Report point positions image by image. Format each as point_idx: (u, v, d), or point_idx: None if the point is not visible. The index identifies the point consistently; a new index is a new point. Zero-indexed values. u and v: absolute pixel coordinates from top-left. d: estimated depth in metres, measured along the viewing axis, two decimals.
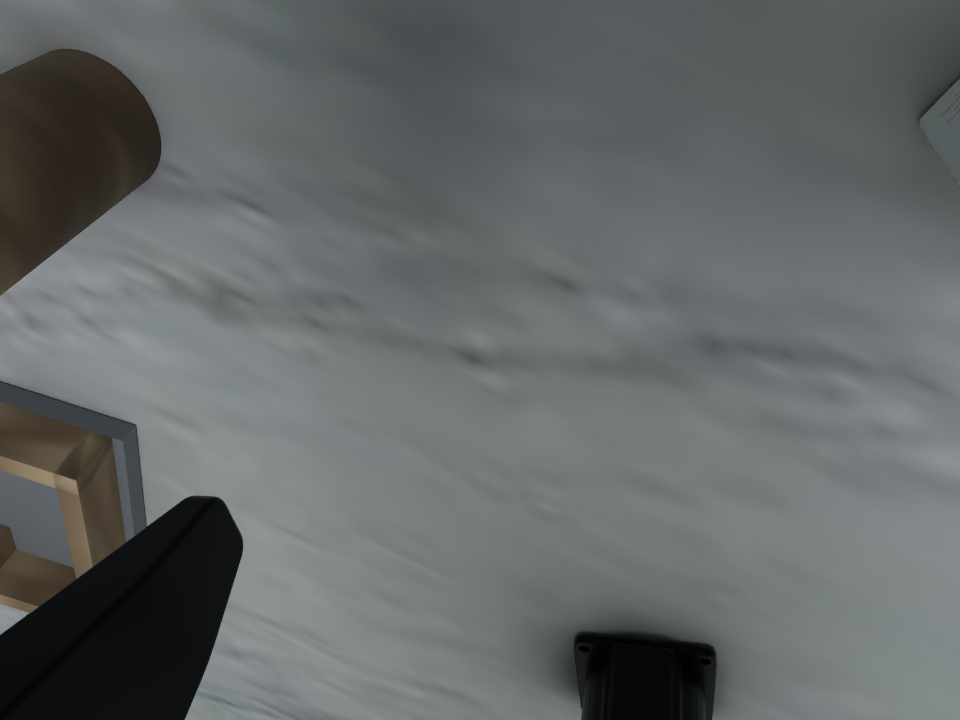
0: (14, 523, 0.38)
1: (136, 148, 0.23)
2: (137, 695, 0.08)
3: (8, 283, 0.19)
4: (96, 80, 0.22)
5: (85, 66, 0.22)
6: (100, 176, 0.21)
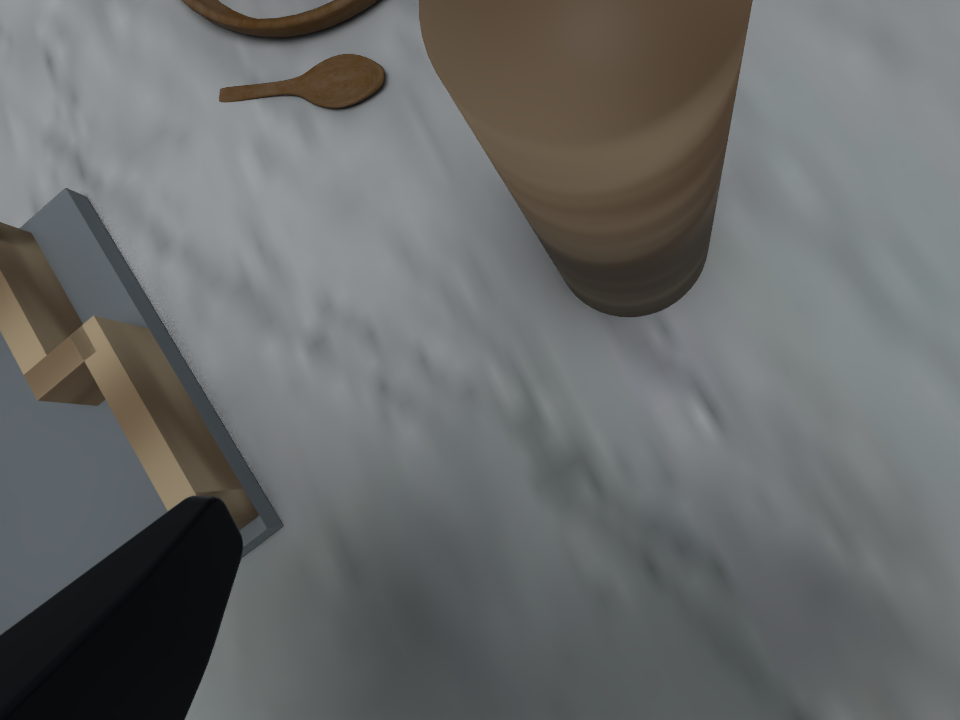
0: None
1: (688, 281, 0.21)
2: (137, 695, 0.08)
3: (637, 253, 0.15)
4: None
5: None
6: (688, 267, 0.19)
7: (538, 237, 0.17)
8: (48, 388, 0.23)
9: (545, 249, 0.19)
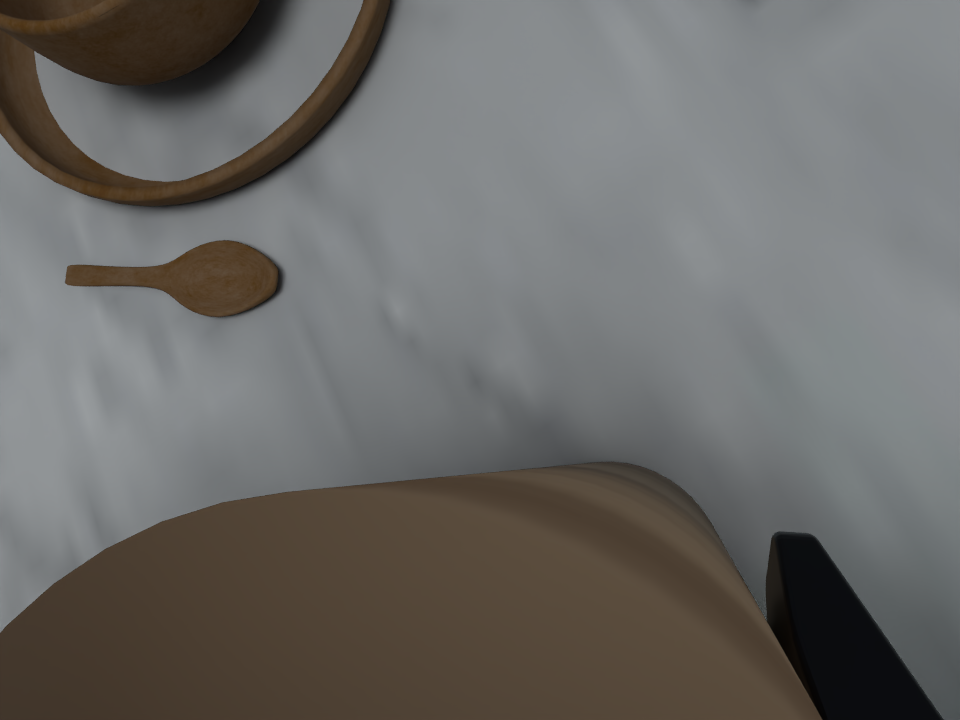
0: None
1: None
2: None
3: None
4: None
5: None
6: None
7: None
8: None
9: None
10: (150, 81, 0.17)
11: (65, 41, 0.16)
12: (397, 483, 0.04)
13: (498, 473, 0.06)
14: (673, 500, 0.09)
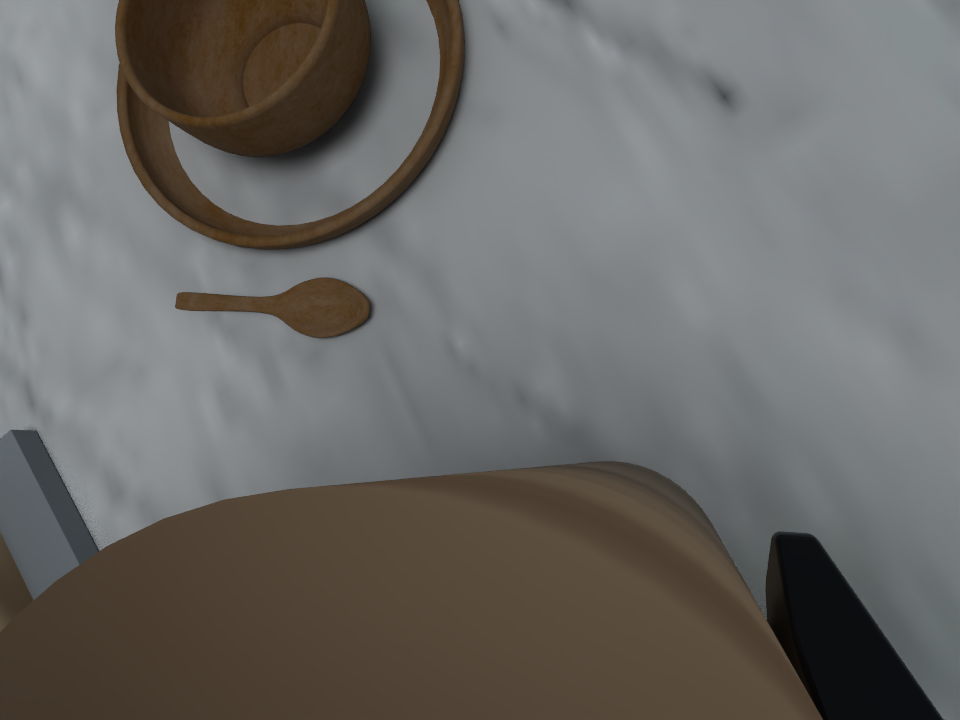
0: None
1: None
2: None
3: None
4: None
5: None
6: None
7: None
8: None
9: None
10: (272, 154, 0.22)
11: (219, 131, 0.21)
12: (397, 480, 0.04)
13: (498, 471, 0.06)
14: (673, 499, 0.09)
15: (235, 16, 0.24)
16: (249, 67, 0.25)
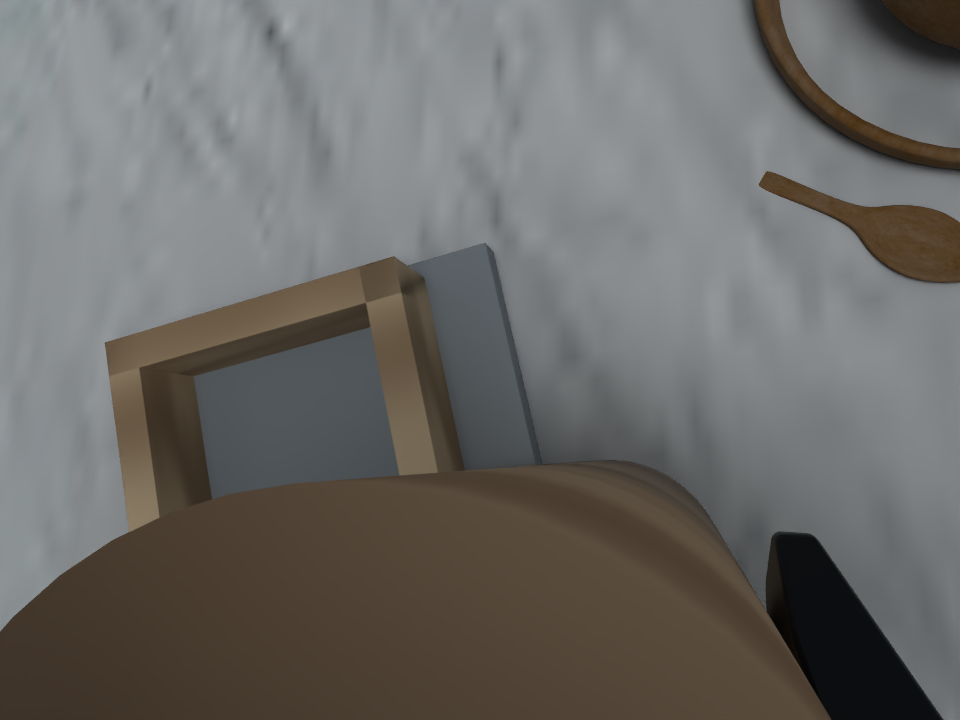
0: None
1: None
2: None
3: None
4: None
5: None
6: None
7: None
8: None
9: None
10: None
11: None
12: (402, 476, 0.04)
13: (502, 468, 0.06)
14: (675, 497, 0.09)
15: None
16: None
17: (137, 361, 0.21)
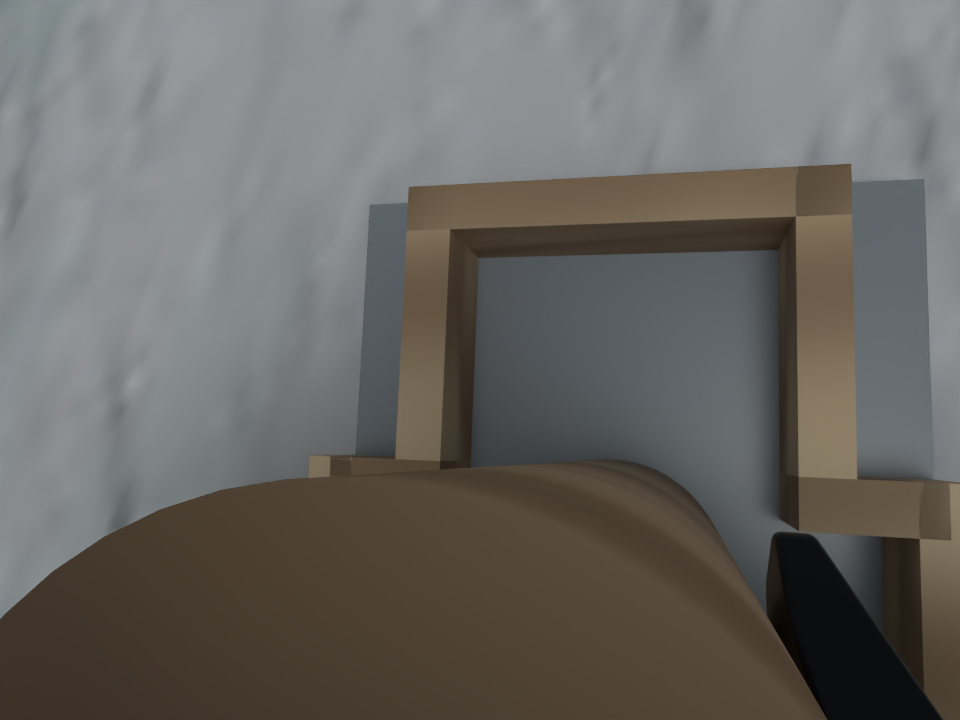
0: None
1: None
2: None
3: None
4: None
5: None
6: None
7: None
8: (829, 529, 0.14)
9: None
10: None
11: None
12: (395, 473, 0.04)
13: None
14: (673, 496, 0.09)
15: None
16: None
17: (449, 220, 0.16)
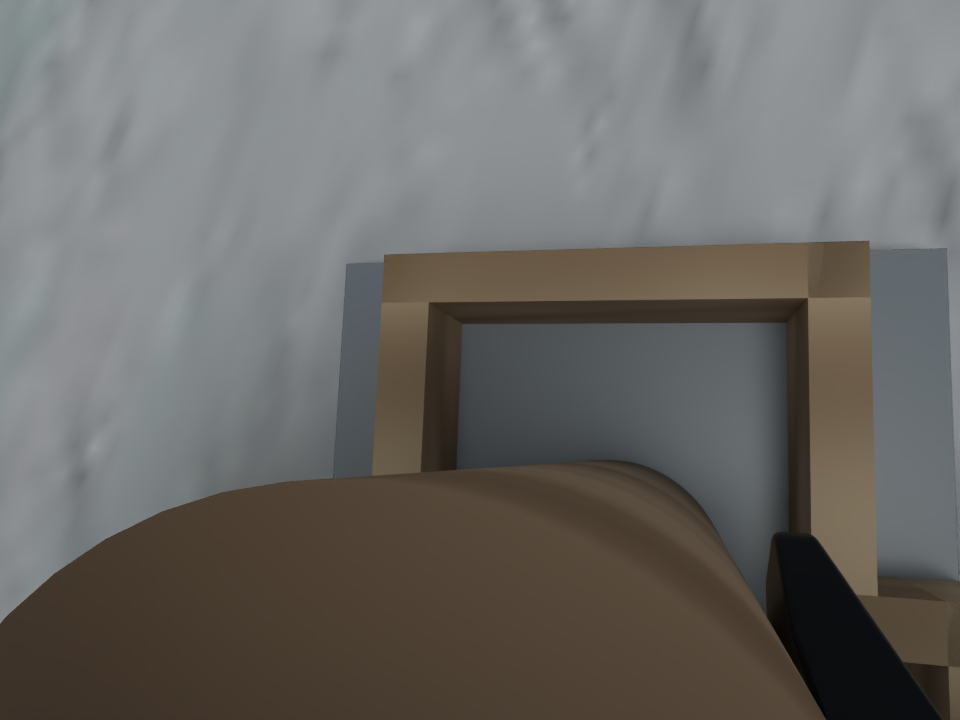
0: None
1: None
2: None
3: None
4: None
5: None
6: None
7: None
8: None
9: None
10: None
11: None
12: (396, 475, 0.04)
13: (498, 468, 0.06)
14: (673, 497, 0.09)
15: None
16: None
17: (427, 292, 0.15)
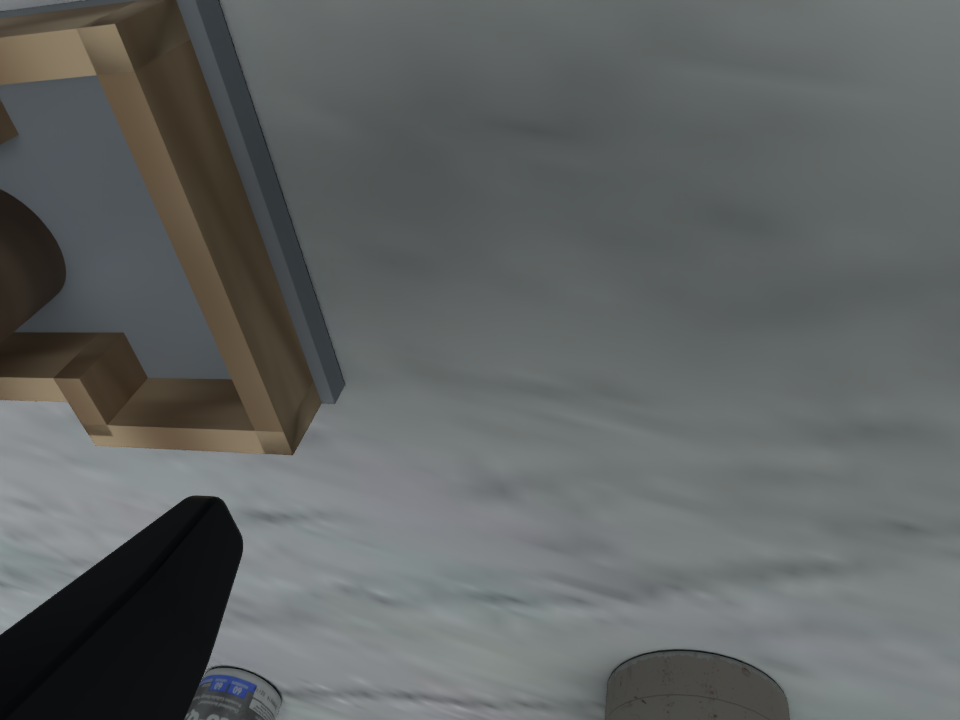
0: (126, 320, 0.25)
1: None
2: (137, 695, 0.08)
3: None
4: None
5: None
6: None
7: None
8: None
9: None
10: None
11: None
12: None
13: None
14: None
15: None
16: None
17: None
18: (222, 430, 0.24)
